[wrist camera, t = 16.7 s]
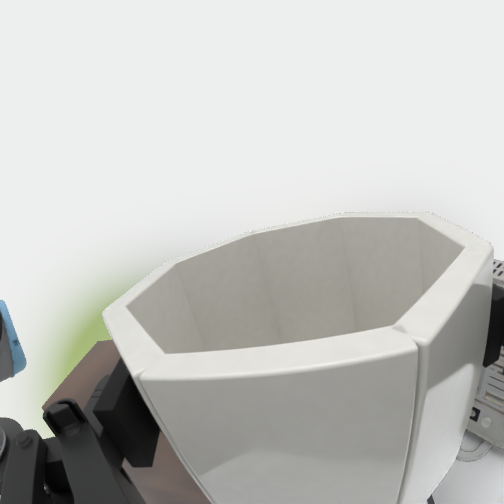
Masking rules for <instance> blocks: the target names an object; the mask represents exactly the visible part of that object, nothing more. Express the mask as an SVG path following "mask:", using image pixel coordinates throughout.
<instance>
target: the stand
mask: <svg viewBox="0 0 504 504" xmlns="http://www.w3.org/2000/svg"><path fill="white" fill-rule="evenodd" d="M119 359H120V355H119V353H118V351H117V349H116V347H115V344H114V342H113V340H107V341H99V342H97V343H96V344H95V345H94V346H93V347H92V349H91V350H90V351H89V352H88V353H87V354H86V356H85V357H84V358H83V359H82V360H81V361H80V362H79V363H78V365H77V366H76V367H75V368H74V369H73V370H72V372H71V373H70V374H69V375H68V376H67V378H66V379H65V380H64V381H63V382H62V383H61V384H60V386H59V387H58V388H57V389H56V390H55V392H54V393H53V394H52V395H51V396H50V398H49V399H48V400H47V401H46V402H45V404H44V405H43V406H42V409H43V410H44V411H45V410H46V408H47V407H48V406H50V405H51V404H52V403H54V402H55V401H57V400H60V399H63V398H72V399H74V400H75V401H76V402H77V404H78V405H79V407H80V408H81V410H82V412H83V410H84V408H85V406H86V404H87V402H88V400H89V399H90V398H91V395H92V393H93V392H94V390H95V388H96V386H97V384H98V382H99V381H100V380H101V379H102V378H104V377H105V376H106V375H107V374H112V372H113V370H114V368H115V366H116V365H117V363H118V361H119ZM122 467H123V468H124V469H125V470H126V472H127V473H128V475H129V477H130V478H131V480H132V481H133V483H134V485H135V486H136V488H137V489H138V491H139V493H140V494H141V496H142V497H143V499H144V500H145V502H146V503H147V504H211V503H210V502H209V501H208V500H207V498H206V497H205V496H204V494H203V493H202V492H201V491H200V489H199V488H198V487H197V485H196V484H195V482H194V481H193V480H192V478H191V477H190V476H189V474H188V473H187V471H186V470H185V468H184V467H183V465H182V464H181V463H180V461H179V460H178V458H177V457H176V455H175V454H174V452H173V450H172V449H171V447H170V446H169V444H168V443H167V441H166V440H165V438H164V436H163V435H162V433H161V431H160V434H159V438H158V443H157V448H156V452H155V457H154V462H153V466H152V467H144V468H132V466H131V465H130V464H129V463H128V461H127V460H126V459H125V458H124V461H123V464H122Z"/></svg>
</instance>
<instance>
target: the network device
mask: <svg viewBox="0 0 504 504" xmlns="http://www.w3.org/2000/svg"><path fill="white" fill-rule="evenodd" d="M493 283H495V284H497V286H498V285H499V286H501V287H503V288H504V261H500V260H495V259H493ZM503 367H504V347H503V346H502V347H501V352H500V357H499V360H498V361H496V362H495V363H493V364H491V365H490V366H488V367H487V368H485V367H484V366H482V370H481V374H480V379H479V383H478V388H477V392H476V396H475V400H474V404H473V407H472V411H471V414H470V418H469V421H468V424H467V428H466V429H467V430H469V431H470V432H472V433H474V434H476V435H478V436H479V437H481V438H483V439H485V440H484V441H483V443H482V444H481V445H480V446H479V447H478V448H477V449H476V450H475V451H473V452H465V451H463V450H461V449H460V448H459V451H458V454H457V456H456V459H458V460H461V461H474V460H477V459H479V458H481V457H482V456H484V455H485V454H486V453H487V452H488V450H489V449H490V448H491V447H492V445H493V444H494V445H496V446H498V447H499V448H501V449H503V450H504V375H502V371H503Z"/></svg>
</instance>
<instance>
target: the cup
mask: <svg viewBox="0 0 504 504" xmlns="http://www.w3.org/2000/svg"><path fill="white" fill-rule="evenodd" d="M492 284H493V246H492V245H491V243H490V242H488V241H486V240H485V239H483V238H481V237H479V236H477V235H475V234H473V233H471V232H470V231H468V230H466V229H464V228H462V227H460V226H458V225H456V224H454V223H452V222H450V221H448V220H446V219H444V218H442V217H440V216H438V215H436V214H434V213H429V212H358V213H357V212H351V213H343V214H342V213H339V214H334V215H329V216H323V217H318V218H314V219H308V220H303V221H298V222H293V223H288V224H283V225H278V226H273V227H268V228H263V229H258V230H253V231H251V232H246V233H243V234H240V235H238V236H235V237H232V238H230V239H227V240H224V241H221V242H219V243H216V244H213V245H211V246H208V247H205V248H203V249H200V250H197V251H195V252H192V253H189V254H187V255H184V256H181V257H179V258H176V259H174V260H171V261H168V262H166V263H165V264H163V265H161V266H160V267H159V268H157V269H156V270H155V271H153V272H152V273H151V274H149V275H148V276H147V277H145V278H144V279H143V280H142V281H140V282H139V283H138V284H136V285H135V286H134V287H133V288H131V289H130V290H129V291H127V292H126V293H125V294H124V295H122V296H121V297H120V298H118V299H117V300H116V301H115V302H113V303H112V304H111V305H110V306H108V307H107V308H106V309H105V310H104V312H103V313H102V317H103V319H104V322H105V324H106V326H107V328H108V331H109V333H110V335H111V338H112V340H113V342H114V344H115V347H116V349H117V351H118V353H119V355H120V357H121V359H122V362H123V364H124V366H125V368H126V370H127V372H128V374H129V376H130V378H131V380H132V382H133V383H134V385H135V387H136V389H137V391H138V393H139V395H140V397H141V399H142V400H143V402H144V404H145V406H146V408H147V409H148V411H149V413H150V415H151V416H152V418H153V420H154V421H155V423H156V425H157V426H158V428H159V430H160V431H161V433H162V435H163V436H164V438H165V440H166V441H167V443H168V444H169V446H170V447H171V449H172V450H173V452H174V454H175V455H176V457H177V458H178V460H179V461H180V463H181V464H182V465H183V467H184V468H185V470H186V471H187V473H188V474H189V476H190V477H191V478H192V480H193V481H194V482H195V484H196V485H197V487H198V488H199V489H200V491H201V492H202V493H203V494H204V496H205V497H206V498H207V500H208V501H209V502H210V503H211V504H424V503H425V502H426V500H427V499H428V498H429V497H430V495H431V494H432V493H433V491H434V490H435V489H436V487H437V486H438V485H439V483H440V482H441V481H442V479H443V478H444V476H445V475H446V473H447V472H448V471H449V469H450V468H451V466H452V465H453V463H454V462H455V459H456V456H457V454H458V451H459V448H460V445H461V443H462V440H463V437H464V434H465V431H466V428H467V424H468V421H469V418H470V414H471V411H472V407H473V404H474V400H475V396H476V392H477V388H478V383H479V379H480V374H481V370H482V364H483V359H484V354H485V348H486V342H487V335H488V327H489V319H490V310H491V299H492Z"/></svg>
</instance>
